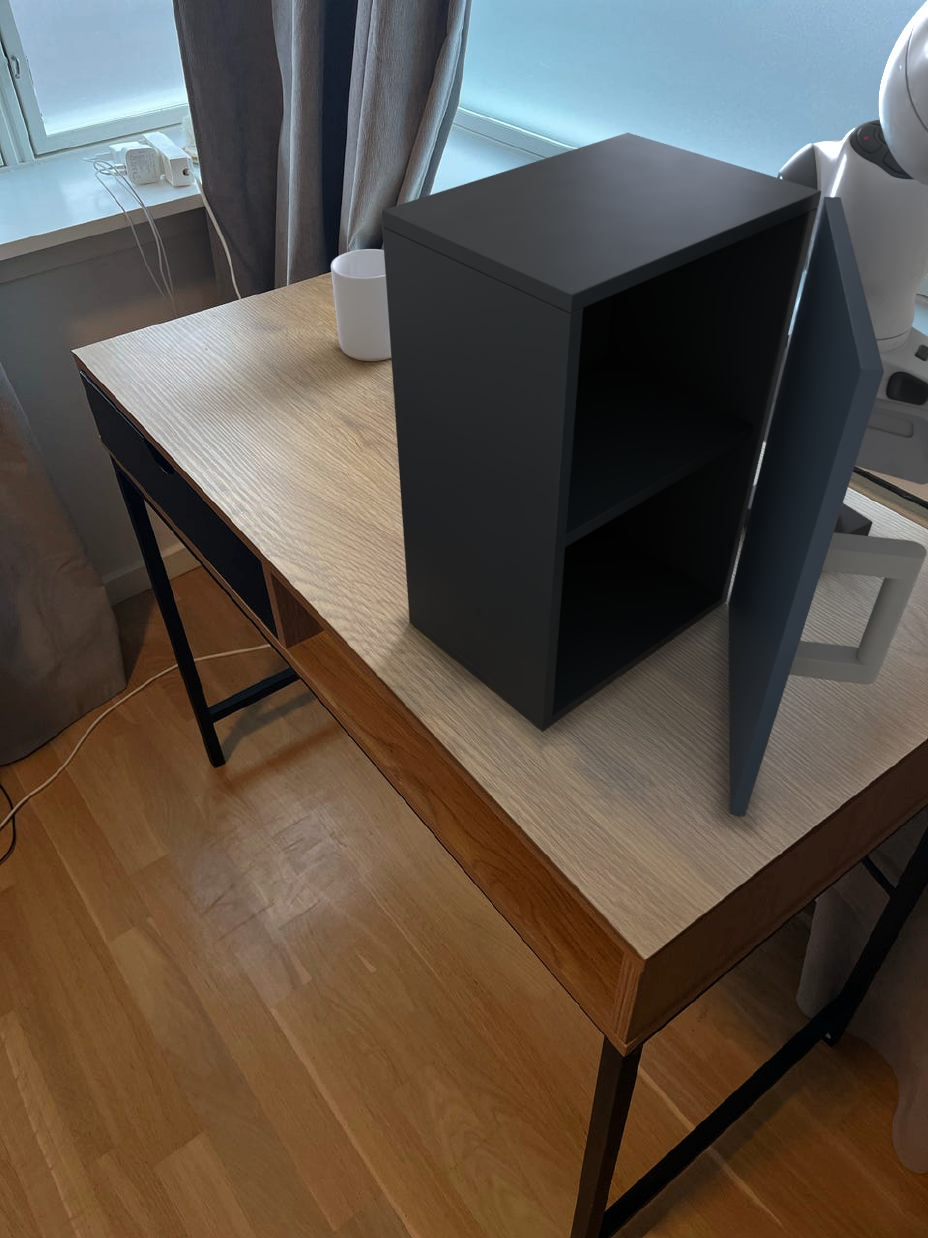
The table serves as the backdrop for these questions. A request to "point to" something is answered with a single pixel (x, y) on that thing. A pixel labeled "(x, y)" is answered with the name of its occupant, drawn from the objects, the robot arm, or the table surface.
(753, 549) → the door
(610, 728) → the table surface
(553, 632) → the cupboard
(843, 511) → the button box
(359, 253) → the mug
